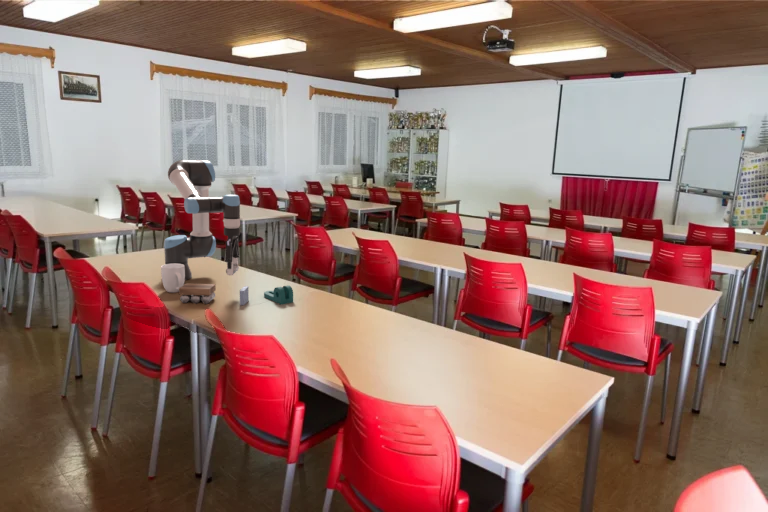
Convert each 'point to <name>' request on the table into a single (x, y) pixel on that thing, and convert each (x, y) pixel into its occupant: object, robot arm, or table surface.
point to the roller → (234, 268)
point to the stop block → (244, 295)
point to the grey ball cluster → (197, 298)
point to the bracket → (280, 295)
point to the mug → (173, 276)
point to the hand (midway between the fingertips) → (232, 272)
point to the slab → (197, 289)
